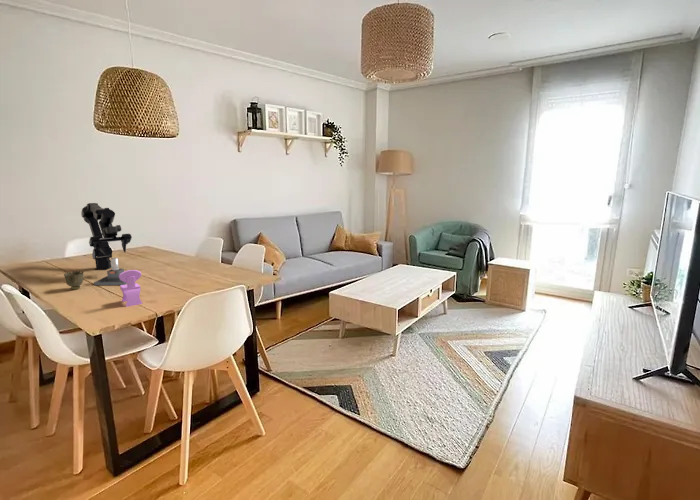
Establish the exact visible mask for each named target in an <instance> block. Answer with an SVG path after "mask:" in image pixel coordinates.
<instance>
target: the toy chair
mask: <svg viewBox="0 0 700 500" xmlns="http://www.w3.org/2000/svg"><path fill="white" fill-rule="evenodd" d="M141 277H142V272H141V271H140V270H137V269H128V270H124V272H122V273H121V274H120V275H119V279H120V280H121V281H123V282H126V283H127V284H125V285H119V286H120V290H121V293H122V295H123V296H122V299H121V302H126V304H125V308H126V307H132V306H133V307H134V306H138V305H142V304H143V302H142V300H141V299H140V296H141V295H140V294H141V285H140V284H139V283H137V282H136V281H138V280H139V279H140V278H141Z"/></svg>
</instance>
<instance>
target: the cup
mask: <svg viewBox="0 0 700 500" xmlns="http://www.w3.org/2000/svg"><path fill="white" fill-rule="evenodd" d="M63 276H64V280H65V283H66V285H67V286H69V287H70V290H74V291H75V290H79V289H81V285H83V284H84V283H83V282H84V271H80V270H79V271H78V270H76V271H72V272H71V271H69V272H65V273H63Z"/></svg>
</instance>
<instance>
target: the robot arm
mask: <svg viewBox="0 0 700 500" xmlns="http://www.w3.org/2000/svg"><path fill="white" fill-rule="evenodd" d="M80 213H81V217H82V218H83V220H84V222H85V223H87V224H88V226H89V229H90V231H91V236H90V238H89V241H88V244H89V247H91V248H93V249H92V254H91V255H92V259H93V260H94V261H95V268H94V270H95V271H96V270H97V271H98V270H99V271H101V270H108V269H109V270H110V268H111V269H112V267H111V258H113V249H112V247H111V246H110V242H118V241H120V243H121V248H122V250H123V253H126V252H127V251H126V250H127V245H128V244H130V243H131V240H132V234H131V233H122V234H121V236H118V233H119V232H122V226H121V225H120V224H119V225H118V224H116V225H115V226H113V222H114V219H115V216H116V213H115V211H113V210H112V209H110V207H104V208H103V207H102V206H100V205H99V204H98V202H88V203H87V204H86V205H85V206H84V207H83V208H81V212H80Z"/></svg>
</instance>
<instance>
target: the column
mask: <svg viewBox="0 0 700 500" xmlns="http://www.w3.org/2000/svg"><path fill="white" fill-rule="evenodd" d="M110 260H111V269H112V271H119V269H120V265H119V257H112V258H110Z"/></svg>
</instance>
